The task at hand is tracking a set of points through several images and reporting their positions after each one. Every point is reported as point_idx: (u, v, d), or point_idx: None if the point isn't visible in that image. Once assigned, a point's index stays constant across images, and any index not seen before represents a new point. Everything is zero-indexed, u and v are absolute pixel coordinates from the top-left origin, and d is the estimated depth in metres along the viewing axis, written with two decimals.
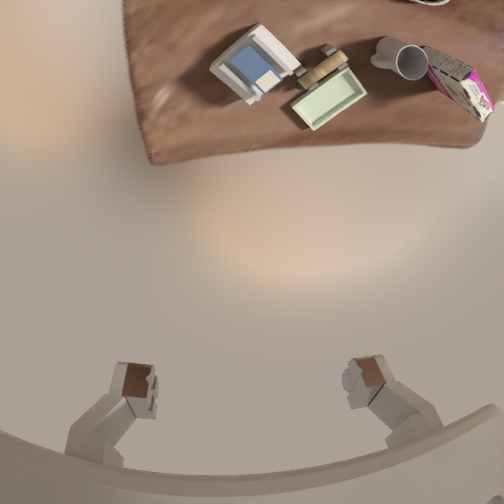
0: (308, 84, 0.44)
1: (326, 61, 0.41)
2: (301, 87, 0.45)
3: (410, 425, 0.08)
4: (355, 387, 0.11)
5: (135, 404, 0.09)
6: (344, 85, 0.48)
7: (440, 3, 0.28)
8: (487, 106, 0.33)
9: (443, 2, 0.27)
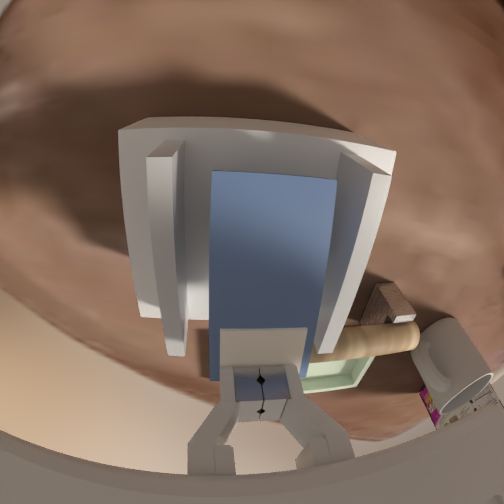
0: (310, 361, 0.18)
1: (383, 335, 0.19)
2: None
3: (309, 450, 0.07)
4: None
5: (246, 408, 0.09)
6: None
7: None
8: None
9: None
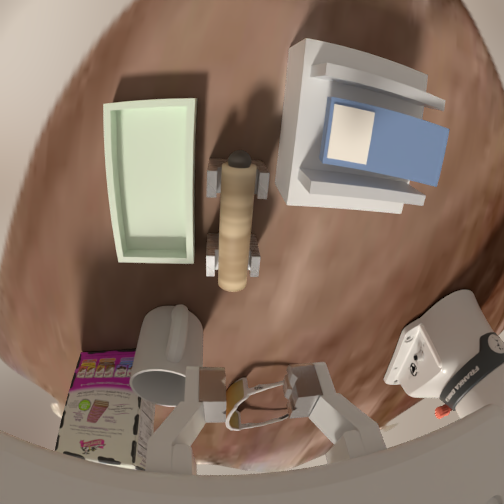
0: (235, 183, 0.19)
1: (248, 250, 0.22)
2: (238, 163, 0.19)
3: (344, 444, 0.07)
4: (292, 395, 0.10)
5: (211, 408, 0.09)
6: (155, 227, 0.25)
7: (228, 419, 0.37)
8: None
9: (227, 421, 0.38)
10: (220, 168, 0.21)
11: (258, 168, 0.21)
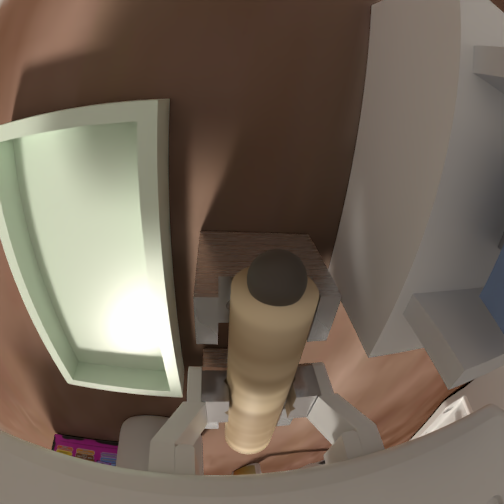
0: (268, 345, 0.07)
1: (280, 413, 0.11)
2: (278, 296, 0.07)
3: (342, 444, 0.07)
4: (290, 395, 0.10)
5: (213, 409, 0.09)
6: (114, 342, 0.13)
7: None
8: None
9: None
10: (225, 278, 0.09)
11: (312, 273, 0.09)
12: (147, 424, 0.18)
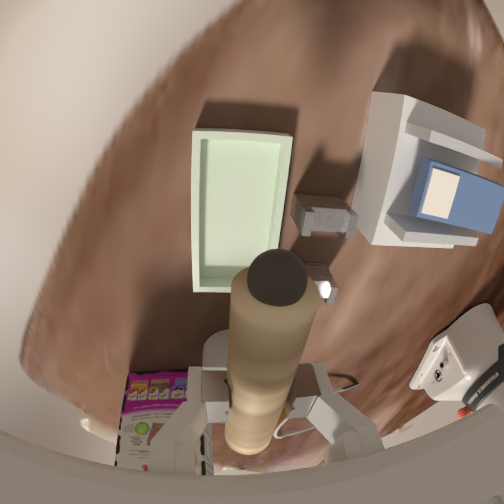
0: (268, 345, 0.07)
1: (280, 414, 0.11)
2: (278, 296, 0.07)
3: (342, 444, 0.07)
4: (290, 396, 0.10)
5: (213, 409, 0.09)
6: (234, 257, 0.26)
7: (278, 428, 0.38)
8: None
9: (276, 431, 0.39)
10: (313, 208, 0.22)
11: (345, 208, 0.22)
12: None
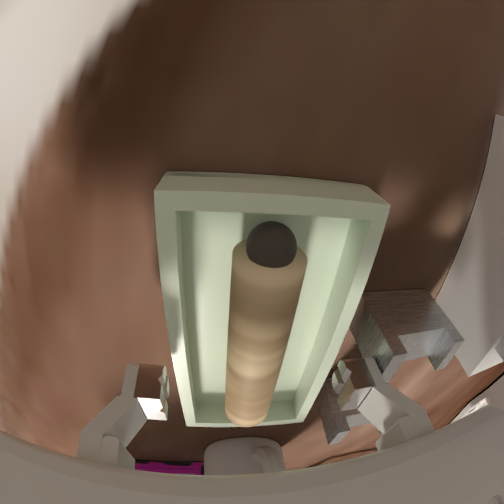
0: (258, 301, 0.09)
1: (274, 385, 0.12)
2: (268, 258, 0.08)
3: (399, 429, 0.08)
4: (344, 389, 0.10)
5: (147, 405, 0.09)
6: None
7: None
8: None
9: None
10: (401, 336, 0.10)
11: (444, 325, 0.11)
12: (240, 446, 0.20)
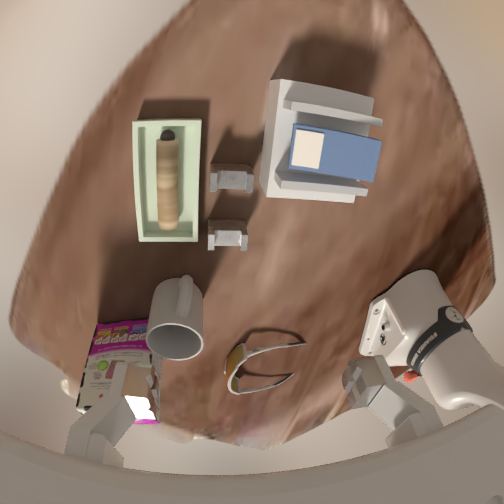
0: (164, 151, 0.27)
1: (176, 198, 0.31)
2: (166, 137, 0.27)
3: (410, 425, 0.08)
4: (355, 387, 0.11)
5: (135, 404, 0.09)
6: None
7: (230, 380, 0.46)
8: None
9: (229, 383, 0.47)
10: (219, 171, 0.29)
11: (246, 171, 0.30)
12: (172, 281, 0.38)
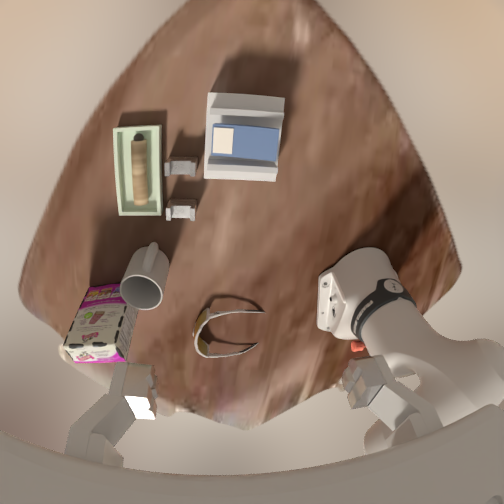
0: (137, 148, 0.37)
1: (146, 181, 0.41)
2: (138, 138, 0.37)
3: (410, 425, 0.08)
4: (355, 387, 0.11)
5: (135, 404, 0.09)
6: None
7: (196, 339, 0.56)
8: (80, 358, 0.40)
9: (196, 342, 0.56)
10: (172, 161, 0.39)
11: (191, 160, 0.39)
12: (145, 248, 0.48)
